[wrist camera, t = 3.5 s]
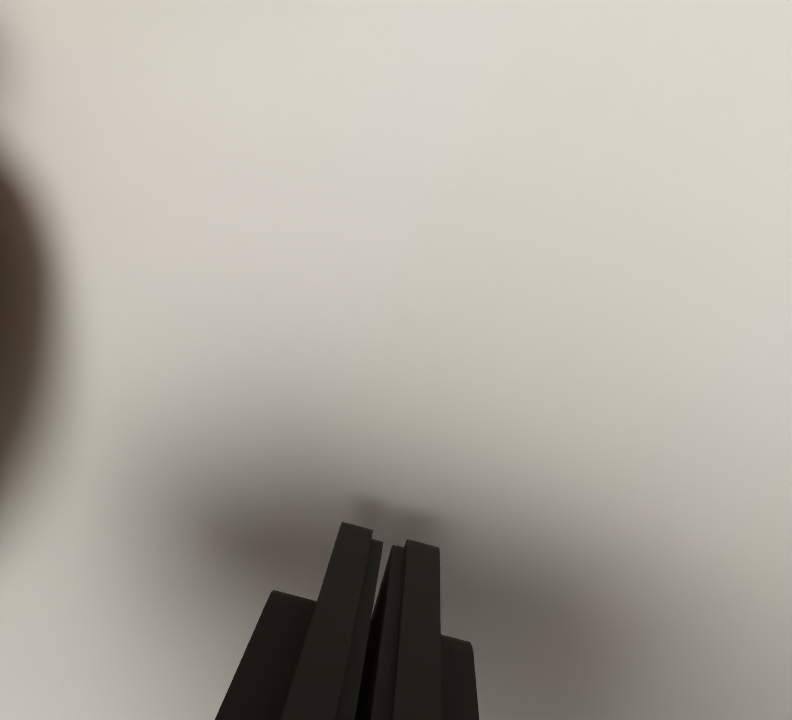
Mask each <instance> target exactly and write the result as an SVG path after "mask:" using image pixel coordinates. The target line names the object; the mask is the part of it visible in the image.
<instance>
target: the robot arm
mask: <svg viewBox="0 0 792 720" xmlns="http://www.w3.org/2000/svg"><path fill="white" fill-rule="evenodd" d="M372 533H373V530H371V529H367V528H363V527H360V526H356V525H352V524H348V523H344V522H342V523H341V526H340V529H339V532H338V536H337V539H336V542H335V545H334V549H333V552H332V555H331V558H330V562H329V565H328V568H327V571H326V575H325V578H324V581H323V584H322V587H321V591H320V594H319V597H318V600H317V601H313V600H309V599H305V598H301V597H298V596H294V595H290V594H286V593H283V592H279V591H275V590H273V591H272V592H271V594H270V596H269V598H268V600H267V603H266V605H265V607H264V609H263V612H262V614H261V616H260V618H259V621H258V623H257V625H256V628H255V630H254V632H253V634H252V637H251V639H250V641H249V643H248V646H247V648H246V650H245V653H244V655H243V657H242V659H241V662H240V664H239V666H238V668H237V671H236V673H235V675H234V678H233V680H232V682H231V684H230V687H229V689H228V691H227V693H226V696H225V698H224V700H223V703H222V705H221V707H220V709H219V712H218V714H217V716H216V718H215V720H479V712H478V701H477V689H476V678H475V667H474V655H473V649H472V645H471V644H470V642H467V641H463V640H459V639H456V638H452V637H448V636H444V635H441V626H440V551H439V548H438V547H435V546H431V545H427V544H424V543H420V542H416V541H412V540H408V539H407V541H406V543H405V546H404V547H400V546H396V545H393V546H392V548H391V551H390V555H389V558H388V562H387V565H386V569H385V572H384V576H383V579H382V583H381V586H380V590H379V593H378V597H377V600H376V604H375V607H374V611H373V614H372V609H373V603H374V597H375V590H376V584H377V578H378V572H379V566H380V559H381V553H382V547H383V542H381V541H377V540H374V539H371V538H372ZM371 615H372V618H371Z"/></svg>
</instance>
